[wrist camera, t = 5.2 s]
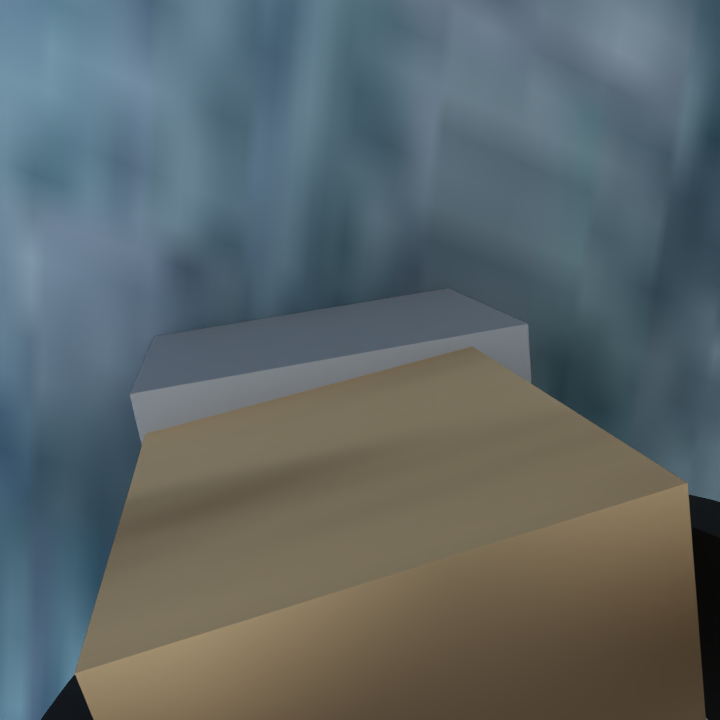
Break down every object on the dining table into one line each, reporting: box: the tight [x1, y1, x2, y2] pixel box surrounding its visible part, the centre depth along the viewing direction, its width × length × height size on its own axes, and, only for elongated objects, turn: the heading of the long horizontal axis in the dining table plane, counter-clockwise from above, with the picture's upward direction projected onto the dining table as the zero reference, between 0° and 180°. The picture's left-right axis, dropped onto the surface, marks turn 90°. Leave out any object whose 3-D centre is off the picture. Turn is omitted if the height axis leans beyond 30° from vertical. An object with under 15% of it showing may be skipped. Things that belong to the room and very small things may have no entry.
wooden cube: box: [75, 346, 706, 720], centre depth 8 cm, size 5×5×5 cm
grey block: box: [130, 288, 532, 445], centre depth 13 cm, size 6×6×4 cm
